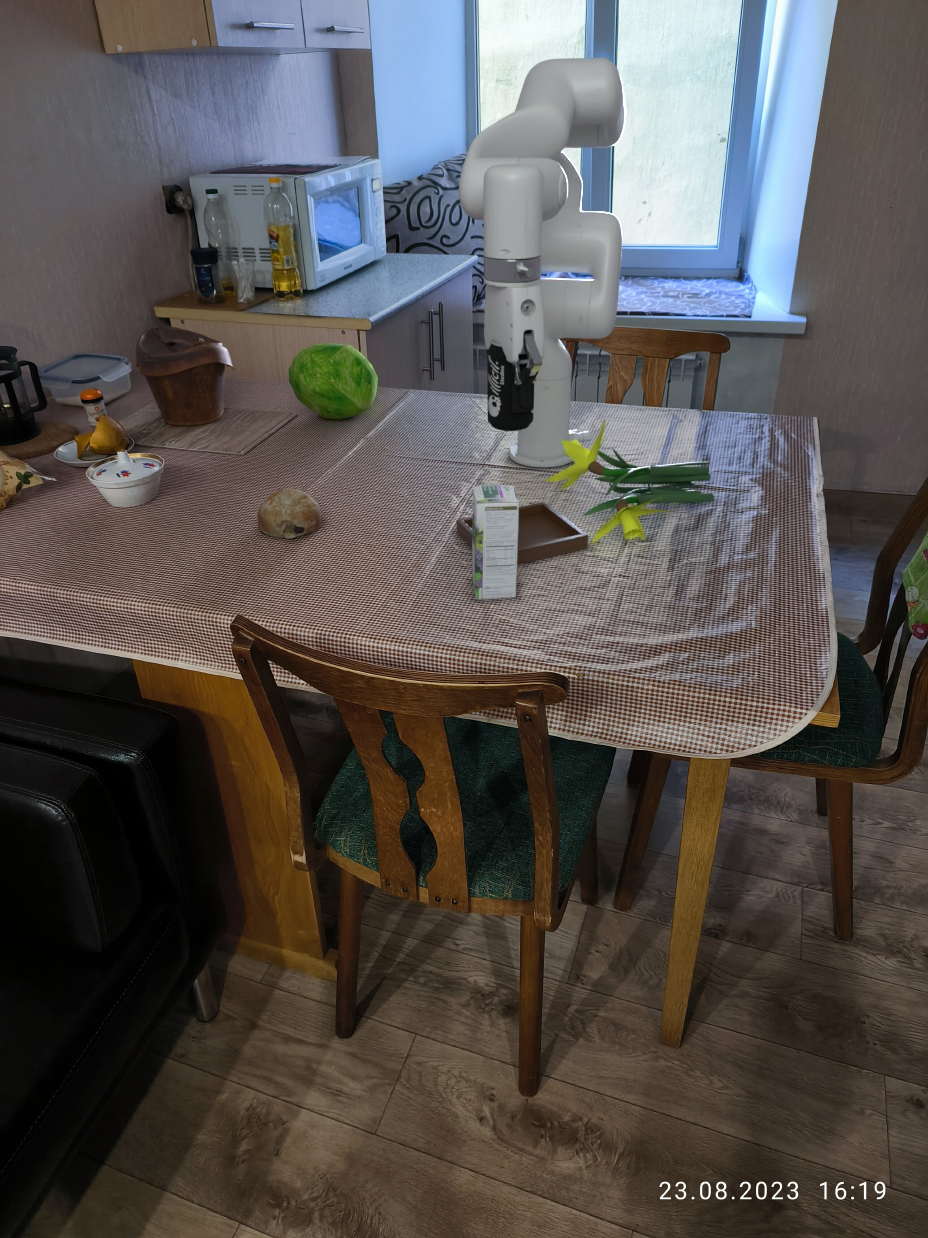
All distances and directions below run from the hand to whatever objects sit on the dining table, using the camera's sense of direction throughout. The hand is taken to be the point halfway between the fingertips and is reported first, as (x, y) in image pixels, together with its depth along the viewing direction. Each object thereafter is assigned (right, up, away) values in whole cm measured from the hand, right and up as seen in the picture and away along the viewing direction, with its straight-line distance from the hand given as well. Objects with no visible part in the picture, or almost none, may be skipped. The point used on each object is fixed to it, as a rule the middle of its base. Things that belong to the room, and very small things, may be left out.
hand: (510, 402), depth 122 cm
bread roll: (-35, -16, +16) cm, 42 cm away
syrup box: (-2, -27, -3) cm, 27 cm away
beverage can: (0, -3, +2) cm, 3 cm away
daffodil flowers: (+21, -15, +15) cm, 30 cm away
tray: (+2, -19, +10) cm, 21 cm away
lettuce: (-34, +13, +63) cm, 73 cm away
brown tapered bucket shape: (-65, +13, +64) cm, 92 cm away
